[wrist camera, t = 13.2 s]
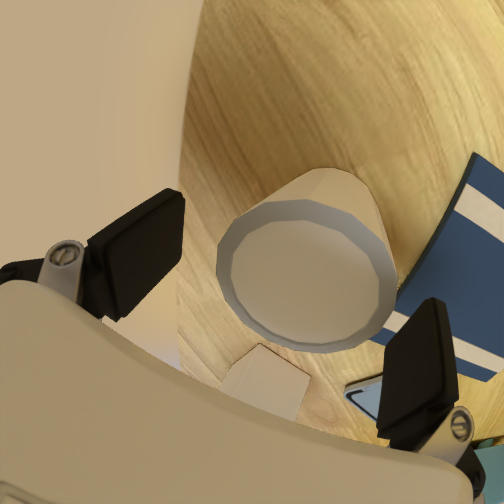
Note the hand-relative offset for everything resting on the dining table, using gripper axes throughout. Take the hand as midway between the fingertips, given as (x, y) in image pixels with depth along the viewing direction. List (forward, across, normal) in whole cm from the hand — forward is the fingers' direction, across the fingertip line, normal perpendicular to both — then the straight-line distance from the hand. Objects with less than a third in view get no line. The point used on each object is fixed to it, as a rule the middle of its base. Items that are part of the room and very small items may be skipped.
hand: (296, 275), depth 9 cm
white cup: (+7, 0, +1) cm, 7 cm away
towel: (+7, -14, +1) cm, 15 cm away
